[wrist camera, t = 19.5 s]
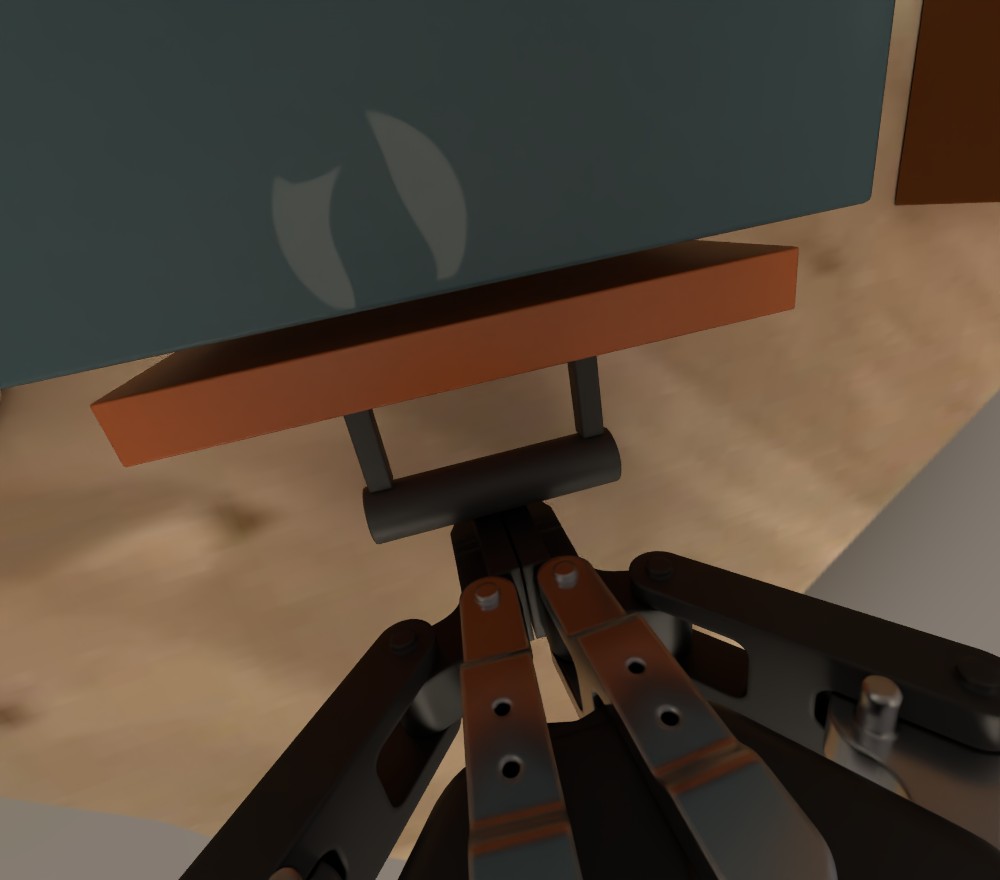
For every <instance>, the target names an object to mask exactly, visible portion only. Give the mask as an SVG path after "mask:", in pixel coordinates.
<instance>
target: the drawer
mask: <svg viewBox="0 0 1000 880" xmlns="http://www.w3.org/2000/svg"><path fill="white" fill-rule="evenodd" d="M798 251H799V249H798V247H793V246H778V245H762V244H746V243H731V242H715V241H699V240H690V241H686V242H681V243H677V244H672V245H667V246H663V247H658V248H653V249H649V250H644V251H639V252H635V253H630V254H626V255H621V256H616V257H612V258H607V259H602V260H598V261H593V262H589V263H584V264H579V265H575V266H570V267H565V268H561V269H556V270H552V271H547V272H542V273H538V274H533V275H528V276H524V277H519V278H515V279H510V280H505V281H501V282H496V283H491V284H487V285H482V286H478V287H473V288H468V289H464V290H459V291H454V292H450V293H445V294H441V295H436V296H431V297H427V298H422V299H417V300H413V301H408V302H403V303H399V304H394V305H390V306H385V307H380V308H376V309H371V310H366V311H362V312H357V313H353V314H348V315H343V316H339V317H334V318H329V319H325V320H320V321H316V322H311V323H306V324H302V325H297V326H292V327H288V328H283V329H279V330H274V331H269V332H265V333H260V334H255V335H251V336H246V337H242V338H237V339H232V340H228V341H223V342H218V343H214V344H209V345H204V346H200V347H195V348H191V349H186V350H181V351H177V352H175V353H173V354H172V355H170V356H169V357H167V358H165V359H164V360H162V361H160V362H159V363H157V364H156V365H154V366H152V367H151V368H149V369H147V370H146V371H144V372H143V373H141V374H139V375H138V376H136V377H134V378H133V379H131V380H129V381H128V382H126V383H125V384H123V385H121V386H120V387H118V388H116V389H115V390H113V391H112V392H110V393H108V394H107V395H105V396H103V397H102V398H100V399H99V400H97V401H95V402H94V403H92V404H91V405H90V408H91V410H92V411H93V413H94V415H95V417H96V418H97V420H98V422H99V424H100V425H101V427H102V429H103V431H104V433H105V434H106V436H107V438H108V440H109V441H110V443H111V445H112V447H113V448H114V450H115V452H116V454H117V455H118V457H119V459H120V461H121V463H122V464H123V466H124V467H129V466H133V465H137V464H142V463H146V462H150V461H154V460H158V459H163V458H167V457H171V456H175V455H180V454H184V453H188V452H192V451H196V450H201V449H205V448H209V447H213V446H218V445H222V444H226V443H230V442H234V441H239V440H243V439H247V438H251V437H255V436H260V435H264V434H268V433H272V432H277V431H281V430H285V429H289V428H293V427H298V426H302V425H306V424H310V423H314V422H319V421H323V420H327V419H331V418H336V417H340V416H344V419H345V422H346V425H347V428H348V431H349V434H350V437H351V440H352V443H353V445H354V448H355V451H356V454H357V457H358V460H359V463H360V466H361V469H362V472H363V475H364V478H365V481H366V484H367V487H365V488H364V489H363V506H364V511H365V516H366V520H367V524H368V527H369V530H370V533H371V536H372V538H373V540H374V541H375V543H376V544H382V543H386V542H389V541H393V540H397V539H401V538H404V537H408V536H412V535H416V534H419V533H423V532H427V531H431V530H434V529H438V528H442V527H446V526H449V525H453V524H457V523H461V522H464V521H468V520H472V519H476V518H479V517H483V516H487V515H491V514H494V513H498V512H502V511H506V510H510V509H513V508H517V507H521V506H525V505H528V504H532V503H536V502H540V501H543V500H547V499H551V498H555V497H558V496H562V495H566V494H570V493H573V492H577V491H581V490H585V489H588V488H592V487H596V486H600V485H603V484H607V483H611V482H615V481H618V480H619V479H620V476H621V460H620V455H619V451H618V448H617V445H616V442H615V440H614V438H613V436H612V434H611V433H610V431H609V430H608V429H607V428H605V427H603V417H602V407H601V397H600V387H599V377H598V367H597V357H596V356H597V355H601V354H605V353H610V352H614V351H618V350H622V349H626V348H631V347H635V346H639V345H643V344H648V343H652V342H656V341H660V340H664V339H669V338H673V337H677V336H681V335H685V334H690V333H694V332H698V331H702V330H707V329H711V328H715V327H719V326H723V325H728V324H732V323H736V322H740V321H745V320H749V319H753V318H757V317H761V316H766V315H770V314H774V313H778V312H782V311H787V310H791V309H793V308H794V307H795V294H796V280H797V266H798ZM563 363H568V371H569V379H570V386H571V394H572V402H573V410H574V418H575V426H576V431H577V432H578V433H576V434H572V435H568V436H564V437H560V438H556V439H552V440H548V441H544V442H540V443H537V444H533V445H529V446H525V447H521V448H517V449H513V450H509V451H505V452H501V453H497V454H493V455H489V456H485V457H481V458H477V459H473V460H469V461H466V462H462V463H458V464H454V465H450V466H446V467H442V468H438V469H434V470H430V471H426V472H422V473H418V474H414V475H410V476H406V477H402V478H398V479H394V480H393V475H392V472H391V468H390V465H389V462H388V459H387V455H386V452H385V449H384V446H383V442H382V439H381V436H380V433H379V430H378V426H377V423H376V420H375V417H374V413H373V410H372V409H374V408H378V407H382V406H386V405H390V404H395V403H399V402H403V401H407V400H411V399H416V398H420V397H424V396H428V395H433V394H437V393H441V392H445V391H449V390H454V389H458V388H462V387H466V386H470V385H475V384H479V383H483V382H487V381H492V380H496V379H500V378H504V377H508V376H513V375H517V374H521V373H525V372H530V371H534V370H538V369H542V368H546V367H551V366H555V365H559V364H563Z"/></svg>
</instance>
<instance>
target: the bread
mask: <svg viewBox="0 0 1000 880" xmlns="http://www.w3.org/2000/svg"><path fill="white" fill-rule="evenodd" d="M985 202H1000V0H924V6H923V13H922V20H921V27H920V34H919V41H918V48H917V55H916V62H915V69H914V76H913V83H912V90H911V97H910V104H909V111H908V118H907V125H906V132H905V139H904V147H903V154H902V161H901V168H900V175H899V182H898V189H897V196H896V203H895V205H923V204H954V203H985Z"/></svg>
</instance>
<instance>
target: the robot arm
mask: <svg viewBox="0 0 1000 880" xmlns="http://www.w3.org/2000/svg"><path fill="white" fill-rule="evenodd" d="M450 535H451V540H452V545H453V550H454V555H455V560H456V565H457V570H458V576H459V581H460V586H461V592H462V593H461V595H460V600H459V604H458V606H457V608H456V609H455V610H454V611H453V612H452V613H451V614H450V615H449V616H448V617H446V618H445V619H443V620H442V621H440V622H438V623H436V624H435V625H433V626H431V625H430V624H429V623H427V622H426V621H423V620H419V619H409V620H404V621H401V622H398V623H396V624H394V625H392V626H391V627H389V628H388V629H387V630H385V631H384V632H383V633H382V634H381V635H380V636H379V638H378V639H377V640H376V641H375V643H374V644H373V645H372V646H371V647H370V649H369V650H368V651H367V652H366V653H365V655H364V656H363V657H362V658H361V659H360V661H359V662H358V663H357V664H356V666H355V667H354V668H353V669H352V670H351V672H350V673H349V674H348V675H347V676H346V678H345V679H344V680H343V681H342V682H341V684H340V685H339V686H338V687H337V689H336V690H335V691H334V692H333V693H332V695H331V696H330V697H329V698H328V699H327V701H326V702H325V703H324V704H323V705H322V707H321V708H320V709H319V710H318V712H317V713H316V714H315V715H314V716H313V718H312V719H311V720H310V721H309V722H308V724H307V725H306V726H305V727H304V728H303V730H302V731H301V732H300V733H299V735H298V736H297V737H296V738H295V739H294V741H293V742H292V743H291V744H290V745H289V747H288V748H287V749H286V750H285V751H284V753H283V754H282V755H281V756H280V758H279V759H278V760H277V761H276V762H275V764H274V765H273V766H272V767H271V768H270V770H269V771H268V772H267V773H266V774H265V776H264V777H263V778H262V779H261V781H260V782H259V783H258V784H257V785H256V787H255V788H254V789H253V790H252V791H251V793H250V794H249V795H248V796H247V797H246V799H245V800H244V801H243V802H242V804H241V805H240V806H239V807H238V808H237V810H236V811H235V812H234V813H233V814H232V816H231V817H230V818H229V819H228V820H227V822H226V823H225V824H224V825H223V827H222V828H221V829H220V830H219V831H218V833H217V834H216V835H215V836H214V837H213V839H212V840H211V841H210V842H209V844H208V845H207V846H206V847H205V848H204V850H203V851H202V852H201V853H200V854H199V856H198V857H197V858H196V859H195V860H194V862H193V863H192V864H191V865H190V866H189V868H188V869H187V870H186V872H185V873H184V874H183V875H182V876H181V877H180V879H179V880H375V879H376V878H377V876H378V874H379V872H380V870H381V869H382V867H383V865H384V863H385V862H386V860H387V858H388V856H389V854H390V853H391V851H392V849H393V847H394V845H395V844H396V842H397V840H398V838H399V836H400V835H401V833H402V831H403V829H404V828H405V826H406V824H407V822H408V820H409V819H410V817H411V815H412V813H413V811H414V810H415V808H416V806H417V804H418V802H419V801H420V799H421V797H422V795H423V794H424V792H425V790H426V788H427V786H428V785H429V783H430V781H431V779H432V777H433V776H434V774H435V772H436V770H437V769H438V767H439V765H440V763H441V761H442V760H443V758H444V756H445V754H446V752H447V751H448V749H449V747H450V745H451V743H452V742H453V740H454V738H455V736H456V735H457V733H458V730H459V728H460V724H461V718H462V717H463V730H464V746H465V762H466V767H465V768H463V769H462V770H461V771H460V772H459V773H458V774H457V775H456V776H455V777H454V778H453V780H452V781H451V782H450V783H449V784H448V786H447V787H446V788H445V790H444V791H443V793H442V794H441V796H440V797H439V799H438V800H437V802H436V804H435V806H434V807H433V809H432V811H431V813H430V815H429V817H428V819H427V821H426V823H425V825H424V828H423V830H422V832H421V834H420V836H419V838H418V840H417V842H416V844H415V846H414V848H413V850H412V852H411V854H410V856H409V858H408V860H407V862H406V864H405V866H404V868H403V870H402V872H401V874H400V876H399V878H398V880H1000V657H998V656H995V655H993V654H990V653H988V652H986V651H983V650H980V649H977V648H974V647H970V646H967V645H964V644H961V643H958V642H955V641H951V640H948V639H945V638H942V637H938V636H935V635H932V634H929V633H926V632H923V631H919V630H916V629H913V628H910V627H907V626H903V625H900V624H897V623H894V622H891V621H887V620H884V619H881V618H878V617H875V616H871V615H868V614H865V613H862V612H859V611H855V610H852V609H849V608H846V607H842V606H839V605H836V604H833V603H829V602H826V601H823V600H820V599H817V598H814V597H810V596H807V595H804V594H801V593H798V592H794V591H791V590H788V589H785V588H782V587H778V586H775V585H772V584H769V583H766V582H762V581H759V580H756V579H753V578H750V577H746V576H743V575H740V574H737V573H733V572H730V571H727V570H724V569H721V568H717V567H714V566H711V565H708V564H705V563H701V562H698V561H695V560H692V559H689V558H685V557H682V556H679V555H676V554H673V553H669V552H663V551H653V552H647V553H644V554H641V555H639V556H638V557H636V558H635V559H634V560H633V561H632V562H631V564H630V567H629V571H602V570H597V569H594V568H593V566H592V565H591V564H590V563H589V562H588V561H587V560H585V559H583V558H581V557H579V556H578V554H577V552H576V551H575V549H574V547H573V545H572V544H571V542H570V540H569V538H568V536H567V535H566V533H565V531H564V529H563V528H562V527H561V524H560V522H559V521H558V519H557V517H556V515H555V513H554V512H553V510H552V508H551V507H550V506H549V505H547V504H545V503H544V502H542V501H540V502H536V503H532V504H528V505H525V506H521V507H517V508H513V509H510V510H506V511H502V512H498V513H494V514H491V515H487V516H483V517H479V518H476V519H472V520H468V521H464V522H461V523H457V524H454V526H453V529H452V531H451V533H450ZM531 624H532V625H531ZM692 624H694V625H697V626H699V627H702V628H705V629H707V630H710V631H712V632H715V633H717V634H720V635H722V636H725V637H727V638H730V639H732V640H734V641H736V642H737V643H739V644H740V645H741V646H742V647H743V648H744V649H745V650H744V649H741V648H739V647H736V646H734V645H731V644H729V643H726V642H724V641H721V640H719V639H716V638H714V637H711V636H709V635H706V634H704V633H701V632H699V631H696V630H694V629H692ZM532 626H533V629H534V632H535V635H536V638H537V639H538V638H541V637H545V636H546V637H547V640H548V642H549V645H550V650H551V655H552V661H553V663H554V666H555V668H556V670H557V672H558V674H559V676H560V678H561V680H562V682H563V685H564V687H565V689H566V691H567V693H568V695H569V697H570V699H571V701H572V704H573V706H574V708H575V710H576V712H577V714H578V716H579V718H580V719H579V720H577V721H572V722H557V723H547V721H546V717H545V712H544V708H543V704H542V699H541V695H540V690H539V686H538V682H537V677H536V673H535V668H534V664H533V654H532V649H531V644H530V641H532V640H534V635H533V630H532Z"/></svg>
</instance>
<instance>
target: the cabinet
mask: <svg viewBox="0 0 1000 880" xmlns="http://www.w3.org/2000/svg"><path fill="white" fill-rule="evenodd" d="M894 7H895V0H0V390H1V389H5V388H10V387H15V386H19V385H24V384H29V383H33V382H38V381H43V380H47V379H52V378H56V377H61V376H66V375H70V374H75V373H80V372H84V371H89V370H93V369H98V368H103V367H107V366H112V365H117V364H121V363H126V362H130V361H135V360H140V359H144V358H149V357H154V356H158V355H163V354H167V353H172V352H177V351H181V350H186V349H191V348H195V347H200V346H204V345H209V344H214V343H218V342H223V341H228V340H232V339H237V338H242V337H246V336H251V335H255V334H260V333H265V332H269V331H274V330H279V329H283V328H288V327H292V326H297V325H302V324H306V323H311V322H316V321H320V320H325V319H329V318H334V317H339V316H343V315H348V314H353V313H357V312H362V311H366V310H371V309H376V308H380V307H385V306H390V305H394V304H399V303H403V302H408V301H413V300H417V299H422V298H427V297H431V296H436V295H441V294H445V293H450V292H454V291H459V290H464V289H468V288H473V287H478V286H482V285H487V284H491V283H496V282H501V281H505V280H510V279H515V278H519V277H524V276H528V275H533V274H538V273H542V272H547V271H552V270H556V269H561V268H565V267H570V266H575V265H579V264H584V263H589V262H593V261H598V260H602V259H607V258H612V257H616V256H621V255H626V254H630V253H635V252H639V251H644V250H649V249H653V248H658V247H663V246H667V245H672V244H677V243H681V242H686V241H690V240H695V239H700V238H704V237H709V236H714V235H718V234H723V233H727V232H732V231H737V230H741V229H746V228H751V227H755V226H760V225H764V224H769V223H774V222H778V221H783V220H788V219H792V218H797V217H801V216H806V215H811V214H815V213H820V212H825V211H829V210H834V209H838V208H843V207H848V206H852V205H857V204H862V203H865V202H866V201H868V200H870V197H871V194H872V185H873V177H874V169H875V161H876V153H877V145H878V137H879V129H880V120H881V112H882V104H883V96H884V88H885V80H886V72H887V64H888V55H889V47H890V39H891V31H892V23H893V15H894Z"/></svg>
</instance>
